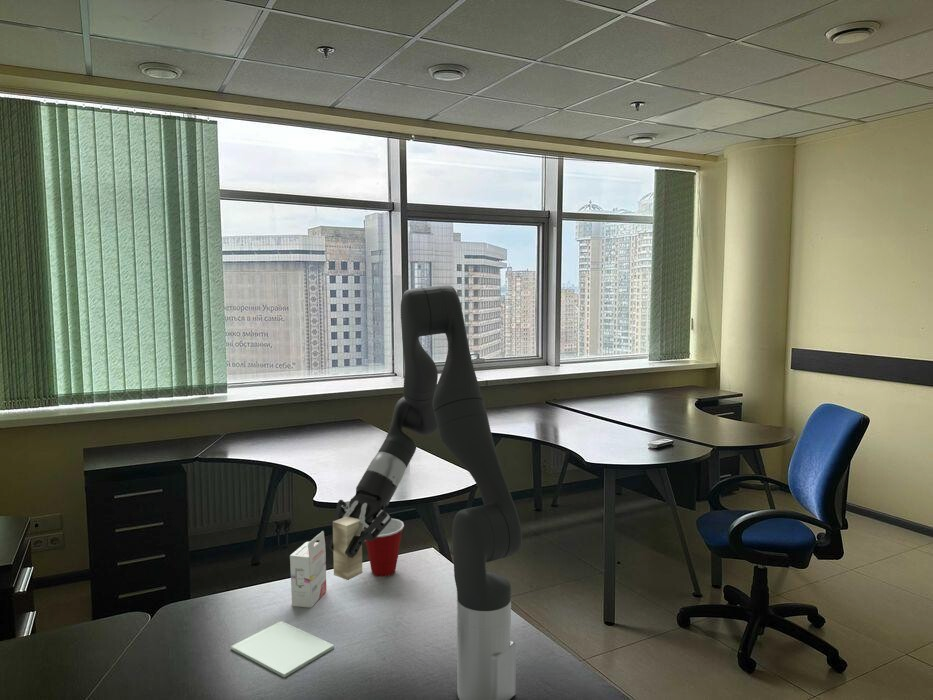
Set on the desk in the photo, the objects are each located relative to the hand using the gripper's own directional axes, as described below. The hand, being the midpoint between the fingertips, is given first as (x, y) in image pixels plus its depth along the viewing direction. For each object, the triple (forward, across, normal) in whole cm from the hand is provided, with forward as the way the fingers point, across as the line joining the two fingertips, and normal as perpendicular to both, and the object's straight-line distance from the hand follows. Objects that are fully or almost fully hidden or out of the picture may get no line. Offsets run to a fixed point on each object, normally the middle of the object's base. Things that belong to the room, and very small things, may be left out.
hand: (340, 552), depth 128 cm
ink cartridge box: (+7, -19, +18) cm, 27 cm away
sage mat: (+19, -7, +6) cm, 21 cm away
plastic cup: (-7, -15, +33) cm, 37 cm away
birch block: (+2, 0, +5) cm, 5 cm away
